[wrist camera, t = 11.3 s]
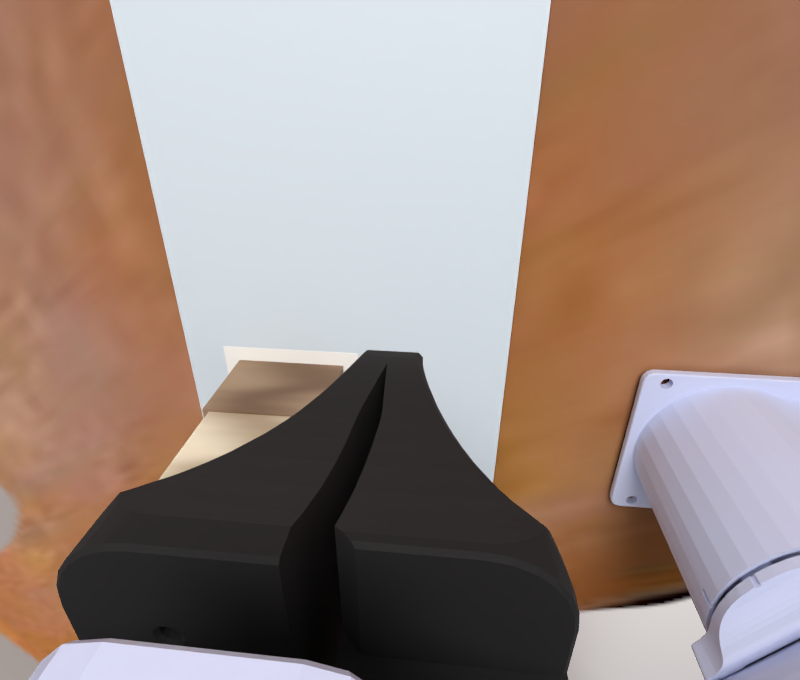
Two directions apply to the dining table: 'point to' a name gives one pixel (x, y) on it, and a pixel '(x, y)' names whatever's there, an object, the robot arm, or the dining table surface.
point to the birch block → (220, 438)
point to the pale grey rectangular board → (343, 182)
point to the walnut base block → (271, 387)
